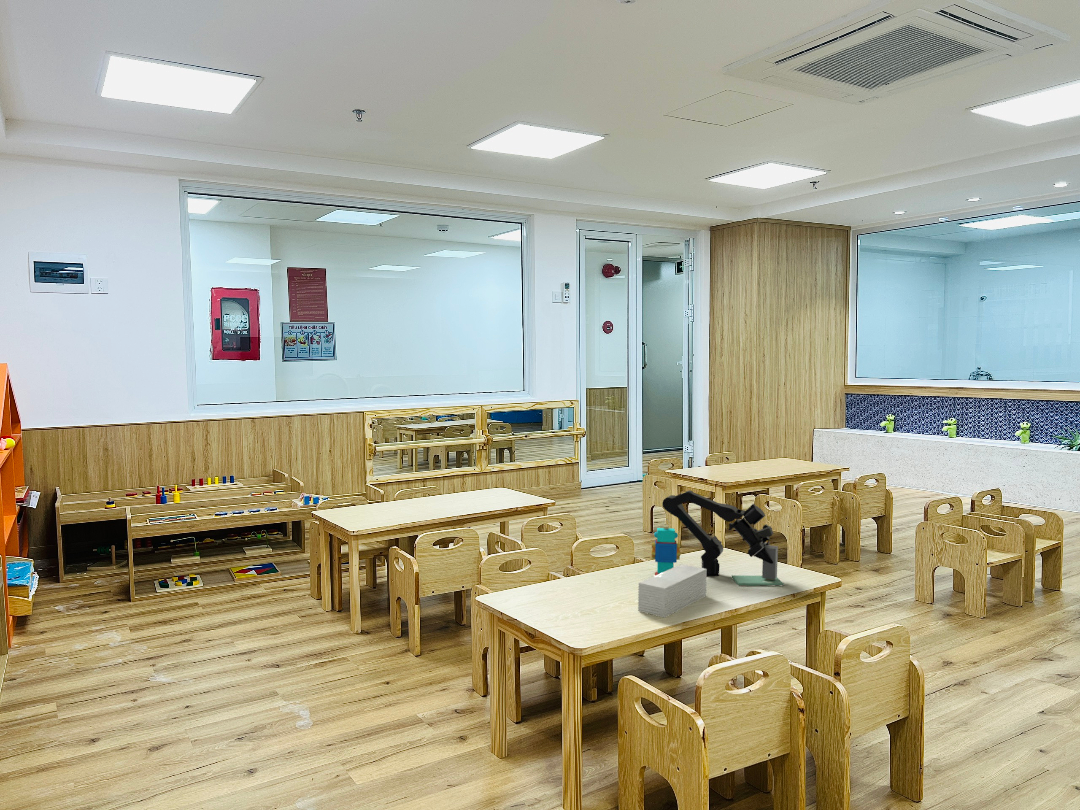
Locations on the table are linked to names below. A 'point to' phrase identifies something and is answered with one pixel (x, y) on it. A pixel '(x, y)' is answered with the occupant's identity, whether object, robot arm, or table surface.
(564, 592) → the table surface
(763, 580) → the board
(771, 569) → the block
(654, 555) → the toy robot
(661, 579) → the stack of papers
